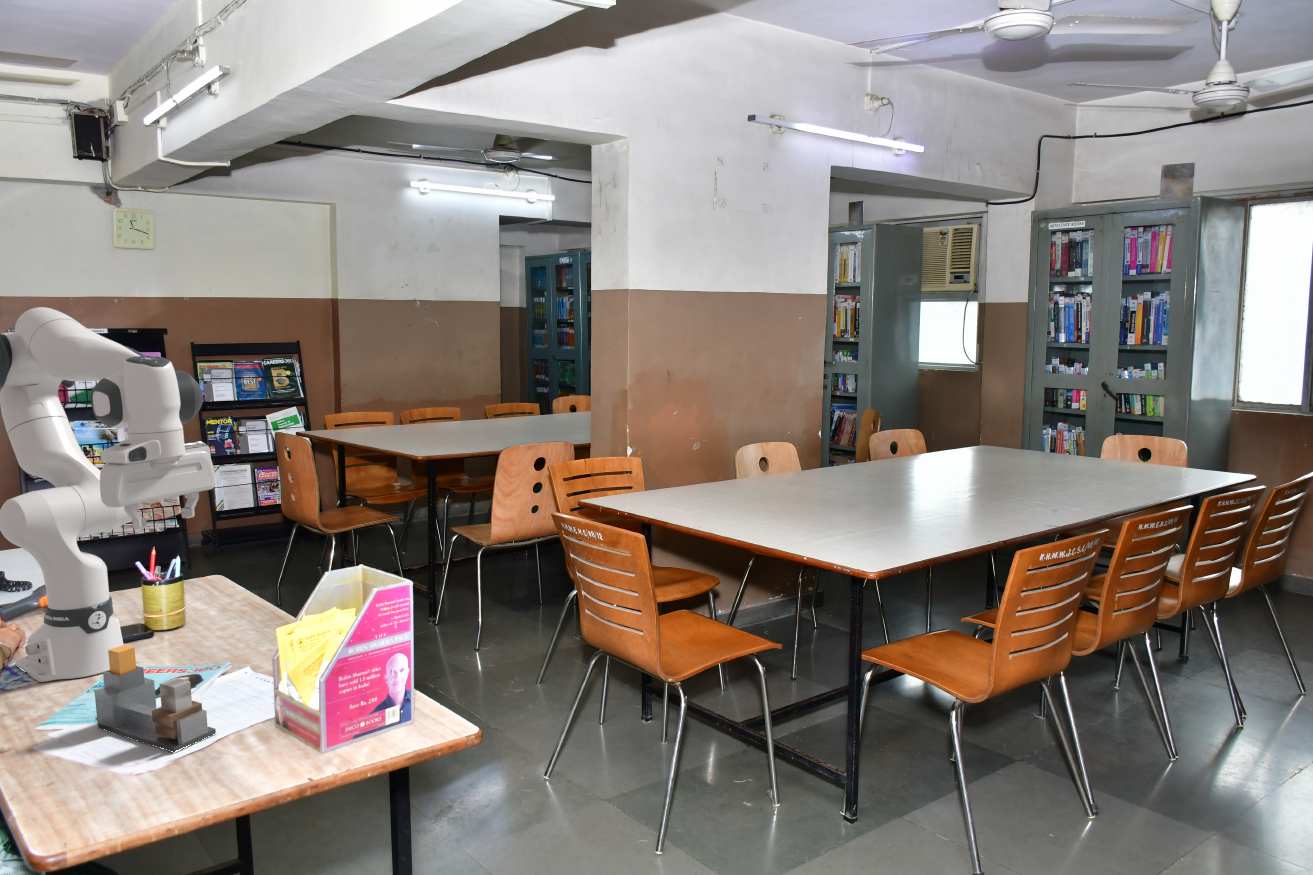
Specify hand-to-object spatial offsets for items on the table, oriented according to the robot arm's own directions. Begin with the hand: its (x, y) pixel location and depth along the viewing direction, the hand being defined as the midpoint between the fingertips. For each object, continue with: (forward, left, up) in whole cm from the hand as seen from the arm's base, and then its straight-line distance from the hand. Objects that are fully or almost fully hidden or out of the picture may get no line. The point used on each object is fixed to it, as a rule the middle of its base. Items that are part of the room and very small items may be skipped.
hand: (164, 522), depth 168 cm
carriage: (+9, -6, -35) cm, 37 cm away
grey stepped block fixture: (+2, -6, -36) cm, 37 cm away
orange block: (-6, -6, -27) cm, 29 cm away
